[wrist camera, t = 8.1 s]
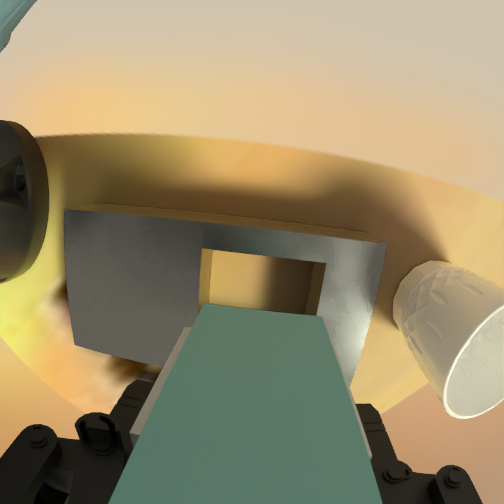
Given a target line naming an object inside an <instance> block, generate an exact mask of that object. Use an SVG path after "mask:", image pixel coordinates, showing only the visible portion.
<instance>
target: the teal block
mask: <svg viewBox="0 0 504 504" xmlns="http://www.w3.org/2000/svg"><path fill="white" fill-rule="evenodd" d="M108 504H382V500H381V496H380V493H379V489H378V486H377V482H376V479H375V475H374V472H373V469H372V465H371V462H370V459H369V455H368V452H367V449H366V445H365V442H364V439H363V436H362V433H361V429H360V426H359V423H358V420H357V417H356V414H355V411H354V408H353V405H352V402H351V399H350V396H349V393H348V390H347V387H346V384H345V381H344V378H343V375H342V372H341V369H340V366H339V363H338V360H337V357H336V355H335V352H334V349H333V346H332V343H331V340H330V338H329V335H328V332H327V329H326V327H325V324H324V321H323V318H322V316H311V315H301V314H291V313H281V312H272V311H263V310H254V309H246V308H238V307H230V306H222V305H215V304H208V303H204V304H203V306H202V308H201V310H200V312H199V314H198V316H197V318H196V320H195V322H194V324H193V326H192V328H191V330H190V332H189V335H188V337H187V339H186V341H185V343H184V345H183V347H182V349H181V351H180V353H179V355H178V357H177V359H176V361H175V363H174V365H173V367H172V369H171V371H170V373H169V375H168V377H167V379H166V381H165V384H164V386H163V388H162V390H161V392H160V394H159V396H158V398H157V400H156V402H155V404H154V406H153V409H152V411H151V413H150V415H149V417H148V419H147V421H146V423H145V425H144V427H143V430H142V432H141V434H140V436H139V438H138V440H137V442H136V444H135V447H134V449H133V451H132V453H131V455H130V457H129V460H128V462H127V464H126V466H125V468H124V470H123V473H122V475H121V477H120V479H119V481H118V483H117V486H116V488H115V490H114V492H113V494H112V497H111V499H110V501H109V503H108Z"/></svg>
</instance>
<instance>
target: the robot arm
mask: <svg viewBox="0 0 504 504" xmlns="http://www.w3.org/2000/svg"><path fill="white" fill-rule="evenodd" d="M36 1H37V0H0V52H1V51H2V50H3V49H4V48H5V47H6V45H7V44H8V42H9V40H10V36H11V32H12V31H13V30H14V29H15V27H16V26H17V25H18V23H19V22H20V20H21V19H22V18H23V17H24V15H25V14H26V13H27V12H28V10H29V9H30V8H31V6H32V5H33V4H34V3H35V2H36ZM48 212H49V190H48V180H47V174H46V168H45V164H44V161H43V157H42V154H41V152H40V149H39V147H38V145H37V143H36V141H35V139H34V138H33V136H32V135H31V134H30V132H29V131H28V130H27V129H26V128H24V127H23V126H22V125H20V124H18V123H16V122H12V121H4V120H0V284H1V283H5V282H8V281H10V280H12V279H14V278H16V277H18V276H20V275H22V274H23V273H25V272H26V271H27V270H28V269H29V268H30V267H31V266H32V265H33V263H34V262H35V260H36V258H37V256H38V254H39V252H40V250H41V247H42V244H43V241H44V238H45V234H46V229H47V222H48ZM190 330H191V327H185V328H184V330H183V332H182V333H181V335H180V337H179V339H178V341H177V343H176V345H175V346H174V348H173V350H172V352H171V354H170V356H169V358H168V360H167V361H166V363H165V365H164V367H163V369H162V371H161V373H160V375H159V376H158V378H157V380H156V382H155V383H151V382H147V381H143V380H138V379H137V380H136V381H134V382H133V383H131V384H130V385H128V386H127V387H126V389H125V391H124V392H123V394H122V397H120V399H119V400H118V402H117V404H116V405H115V406H114V408H113V410H112V411H111V413H110V414H109V415H108V414H104V413H101V412H92V413H89V414H85V415H83V416H82V417H80V418H79V419H78V420H77V421H76V423H75V428H76V430H77V433H78V436H79V439H80V440H75V439H66V438H59V437H57V435H56V434H55V432H54V431H53V429H51V428H50V427H48V426H45V425H42V424H34V425H31V426H28V427H26V428H25V429H24V430H23V431H22V432H21V433H20V434H19V435H18V437H17V438H16V439H15V440H14V441H13V443H12V444H11V445H10V447H9V448H8V449H7V450H6V452H5V453H4V454H3V455H2V457H1V458H0V504H108V503H109V501H110V499H111V497H112V494H113V492H114V490H115V488H116V486H117V483H118V481H119V479H120V477H121V475H122V473H123V470H124V468H125V466H126V464H127V462H128V460H129V457H130V455H131V453H132V451H133V449H134V447H135V444H136V442H137V440H138V438H139V436H140V434H141V432H142V430H143V427H144V425H145V423H146V421H147V419H148V417H149V415H150V413H151V411H152V409H153V406H154V404H155V402H156V400H157V398H158V396H159V394H160V392H161V390H162V388H163V386H164V384H165V381H166V379H167V377H168V375H169V373H170V371H171V369H172V367H173V365H174V363H175V361H176V359H177V357H178V355H179V353H180V351H181V349H182V347H183V345H184V343H185V341H186V339H187V337H188V335H189V332H190ZM332 346H333V349H334V352H335V355H336V357H337V360H338V363H339V366H340V369H341V372H342V375H343V378H344V381H345V384H346V387H347V390H348V393H349V396H350V399H351V402H352V405H353V408H354V411H355V414H356V417H357V420H358V423H359V426H360V429H361V433H362V436H363V439H364V442H365V445H366V449H367V452H368V455H369V459H370V462H371V465H372V469H373V472H374V475H375V479H376V482H377V486H378V489H379V493H380V496H381V500H382V504H483V503H482V501H481V499H480V497H479V495H478V493H477V491H476V489H475V487H474V485H473V483H472V481H471V479H470V477H469V475H468V474H467V472H466V471H465V470H464V469H462V468H461V467H458V466H454V465H447V466H444V467H442V468H441V469H440V470H439V471H438V472H437V474H436V475H435V474H423V473H416V472H412V469H411V468H410V467H409V466H408V465H407V464H405V463H403V462H402V461H398V460H397V457H396V454H395V452H394V449H393V447H392V444H391V442H390V439H389V437H388V434H387V432H386V431H385V430H386V429H385V427H384V424H382V419H381V417H380V414H379V412H378V411H377V410H376V409H375V408H374V407H373V406H372V405H371V404H355V402H354V399H353V396H352V393H351V390H350V387H349V384H348V382H347V379H346V376H345V373H344V370H343V367H342V365H341V362H340V359H339V356H338V354H337V351H336V348H335V345H334V343H332Z"/></svg>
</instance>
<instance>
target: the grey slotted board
mask: <svg viewBox="0 0 504 504" xmlns="http://www.w3.org/2000/svg"><path fill="white" fill-rule="evenodd" d="M387 246H388V244H386V243H384V242H382V241H381V240H379V239H377V238H376V237H374V236H372V235H371V234H369V233H367V232H361V231H354V230H347V229H340V228H333V227H325V226H318V225H310V224H302V223H294V222H286V221H278V220H270V219H262V218H253V217H244V216H235V215H226V214H216V213H207V212H197V211H187V210H176V209H165V208H154V207H142V206H130V205H117V204H104V203H90V204H85V205H80V206H76V207H71V208H66V209H64V250H65V268H66V281H67V292H68V301H69V310H70V317H71V324H72V331H73V337H74V343H75V345H77V346H80V347H84V348H87V349H91V350H94V351H98V352H102V353H105V354H109V355H113V356H117V357H121V358H125V359H129V360H134V361H138V362H143V363H147V364H152V365H157V366H162V367H164V365H165V363H166V361H167V360H168V358H169V356H170V354H171V352H172V350H173V348H174V346H175V345H176V343H177V341H178V339H179V337H180V335H181V333H182V332H183V330H184V328H185V327H191V328H192V326H193V324H194V322H195V320H196V318H197V316H198V314H199V312H200V310H201V308H202V306H203V304H204V303H208V304H209V290H210V276H211V262H212V250H220V251H228V252H237V253H245V254H254V255H262V256H271V257H279V258H288V259H296V260H305V261H313V267H312V273H311V279H310V285H309V290H308V296H307V301H306V307H305V312H304V315H311V316H322V318H323V321H324V324H325V327H326V329H327V332H328V335H329V338H330V340H331V343H334V345H335V348H336V351H337V354H338V356H339V359H340V362H341V365H342V367H343V370H344V373H345V376H346V379H347V382H348V384H349V387H350V385H351V382H352V379H353V376H354V373H355V370H356V367H357V364H358V361H359V358H360V354H361V351H362V348H363V344H364V341H365V338H366V334H367V331H368V327H369V323H370V320H371V316H372V312H373V308H374V304H375V301H376V296H377V292H378V288H379V284H380V279H381V275H382V270H383V266H384V261H385V256H386V251H387Z"/></svg>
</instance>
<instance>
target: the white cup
mask: <svg viewBox="0 0 504 504" xmlns="http://www.w3.org/2000/svg"><path fill="white" fill-rule="evenodd" d="M393 319H394V321H395V323H396V325H397V327H398V329H399V331H400V333H401V334H402V336H403V337H404V339H405V341H406V344H407V346H408V347H409V349H410V350H411V352H412V354H413V356H414V357H415V359H416V361H417V362H418V364H419V366H420V368H421V370H422V371H423V373H424V374H425V376H426V378H427V379H428V381H429V382H430V384H431V386H432V387H433V389H434V391H435V392H436V394H437V396H438V397H439V399H440V401H441V403H442V404H443V406H444V408H445V410H446V411H447V413H448V414H450V415H451V416H453V417H455V418H461V419H466V418H472V417H475V416H478V415H481V414H483V413H485V412H487V411H488V410H490V409H492V408H493V407H495V406H496V405H497V404H499V403H500V402H501V401H502V400H504V287H503V286H501V285H499V284H497V283H495V282H493V281H491V280H489V279H487V278H485V277H482V276H480V275H477V274H475V273H473V272H471V271H468V270H465V269H462V268H458V267H456V266H454V265H452V264H450V263H448V262H445V261H433V260H430V261H427V262H425V263H423V264H421V265H419V266H416V267H414V268H413V269H412V270H411V271H410V272H409V274H408V275H407V276H406V277H405V278H404V279H403V280H402V281H401V282H400V285H399V287H398V290H397V292H396V294H395V297H394V299H393Z"/></svg>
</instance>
